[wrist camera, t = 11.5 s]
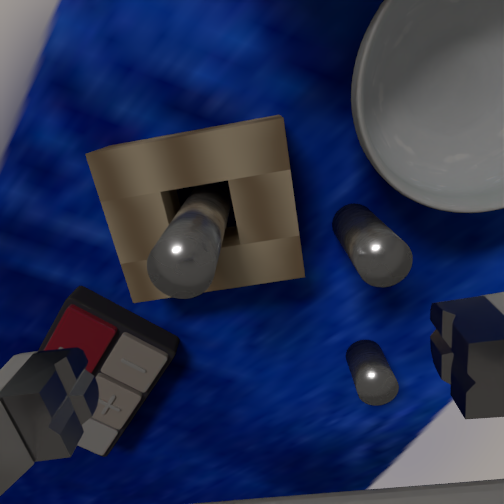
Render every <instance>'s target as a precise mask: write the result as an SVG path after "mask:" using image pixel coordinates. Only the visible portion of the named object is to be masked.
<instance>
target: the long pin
mask: <svg viewBox="0 0 504 504" xmlns="http://www.w3.org/2000/svg"><path fill="white" fill-rule="evenodd" d="M230 208H231V198H230V195H229V193H228V191H227V190H226V189H225V188H224V187H223V186H222V185H220V184H218V183H209V184H203V185H197V186H196V187H195V188H194V189H193V191H192V192H191V194H190V195H189V196H188V198H187V199H186V201H185V202H184V204H183V205H182V207H181V208H180V210H179V211H178V212H177V214H176V215H175V217H174V218H173V220H172V221H171V223H170V224H169V225H168V227H167V228H166V230H165V231H164V233H163V234H162V236H161V237H160V239H159V240H158V241H157V243H156V244H155V246H154V247H153V249H152V250H151V252H150V254H149V256H148V260H147V271H148V275H149V278H150V280H151V282H152V283H153V284H154V286H155V287H156V288H157V289H158V290H160V291H161V292H162V293H164V294H166V295H168V296H170V297H173V298H178V299H188V298H193V297H196V296H198V295H200V294H202V293H203V292H205V291H206V290H207V289H208V288H209V286H210V285H211V283H212V281H213V278H214V275H215V270H216V266H217V262H218V258H219V254H220V250H221V246H222V241H223V237H224V233H225V229H226V225H227V221H228V217H229V212H230Z"/></svg>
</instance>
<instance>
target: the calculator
mask: <svg viewBox="0 0 504 504" xmlns="http://www.w3.org/2000/svg"><path fill="white" fill-rule="evenodd" d="M178 344H179V338H178V337H177V336H175V335H173V334H172V333H170V332H168V331H166V330H164V329H162V328H160V327H158V326H157V325H155V324H153V323H151V322H149V321H147V320H145V319H144V318H142V317H140V316H138V315H136V314H134V313H132V312H130V311H129V310H127V309H125V308H123V307H121V306H119V305H117V304H115V303H114V302H112V301H110V300H108V299H106V298H104V297H102V296H100V295H99V294H97V293H95V292H93V291H91V290H89V289H87V288H85V287H83V286H79V287H78V288H77V289H76V290H75V291H74V292H73V293H72V294H71V295H70V296H69V297H68V298H67V299H66V301H65V302H64V304H63V306H62V308H61V310H60V311H59V313H58V315H57V317H56V319H55V321H54V322H53V324H52V326H51V328H50V330H49V332H48V333H47V335H46V337H45V339H44V341H43V343H42V344H41V346H40V348H39V350H38V352H39V351H45V350H55V349H64V348H74V347H78V348H80V349H82V350H83V351H84V353H85V355H86V357H87V359H88V364H87V367H86V370H87V371H88V372H90V373H91V374H92V375H94V376H95V378H96V381H97V384H98V389H99V399H98V405H97V408H96V410H95V412H94V414H93V416H92V417H91V418H90V419H89V420H87V421H86V422H85V423H84V424H82V427H83V430H84V433H83V435H82V437H81V439H80V441H79V442H78V444H77V445H78V446H80V447H82V448H85V449H87V450H89V451H91V452H94V453H96V454H98V455H100V456H103V457H105V456H107V455H108V454H109V453H110V451H111V450H112V448H113V447H114V445H115V444H116V442H117V441H118V439H119V438H120V436H121V435H122V433H123V432H124V430H125V429H126V427H127V426H128V425H129V423H130V422H131V420H132V419H133V417H134V416H135V414H136V413H137V411H138V410H139V408H140V407H141V405H142V404H143V402H144V401H145V399H146V398H147V396H148V395H149V393H150V392H151V390H152V389H153V388H154V386H155V385H156V383H157V382H158V380H159V379H160V377H161V376H162V374H163V373H164V371H165V370H166V368H167V367H168V365H169V364H170V362H171V361H172V359H173V358H174V356H175V354H176V351H177V347H178Z"/></svg>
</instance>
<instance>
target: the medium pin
mask: <svg viewBox="0 0 504 504" xmlns="http://www.w3.org/2000/svg"><path fill="white" fill-rule="evenodd" d="M332 228H333V232H334V234H335V235H336V237H337V239H338V240H339V242H340V244H341V245H342V247H343V248H344V250H345V252H346V253H347V255H348V257H349V258H350V260H351V261H352V263H353V265H354V266H355V268H356V270H357V271H358V273H359V274H360V276H361V278H362V279H363V280H364V281H365V282H366V283H368V284H370V285H372V286H375V287H388V286H392V285H394V284H397V283H398V282H400V281H401V280H402V279H404V278H405V276H406V275H407V274H408V272H409V271H410V269H411V266H412V252H411V250H410V248H409V246H408V245H407V244H406V243H405V242H404V241H403V240H402V239H400V238H399V237H398V236H397V235H396V234H395V233H394V232H393V231H392V230H391V229H390V228H389V227H387V226H386V225H385V224H384V223H383V222H382V221H381V220H380V219H379V218H378V217H377V216H376V215H374V214H373V213H372V212H371V211H370V210H369V209H368V208H367V207H365V206H364V205H361V204H355V203H354V204H348V205H346V206H344V207H342V208H341V209H339V210H338V211H337V213H336V214H335V216H334V218H333V222H332Z"/></svg>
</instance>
